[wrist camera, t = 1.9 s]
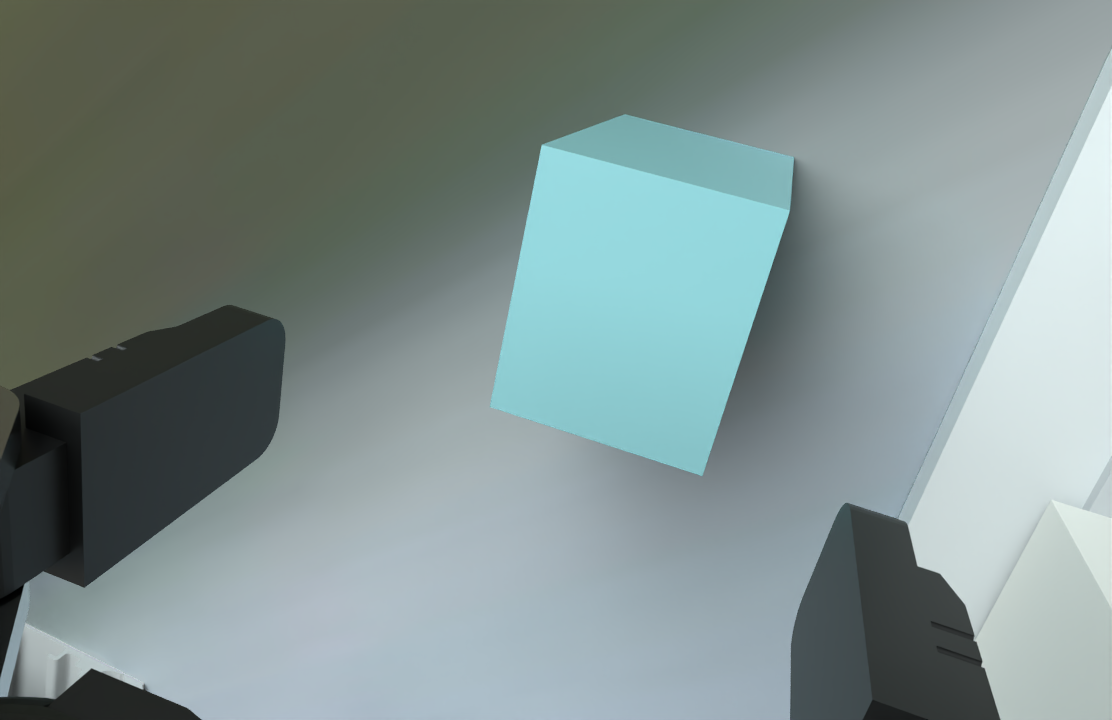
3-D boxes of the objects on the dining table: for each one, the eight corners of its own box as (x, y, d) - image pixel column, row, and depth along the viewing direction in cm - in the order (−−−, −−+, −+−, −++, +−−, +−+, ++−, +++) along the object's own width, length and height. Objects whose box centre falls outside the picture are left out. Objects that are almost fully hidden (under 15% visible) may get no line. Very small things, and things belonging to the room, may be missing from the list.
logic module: (624, 114, 24) (541, 144, 16) (793, 157, 23) (789, 210, 16) (580, 303, 26) (489, 406, 19) (732, 348, 26) (702, 476, 18)
